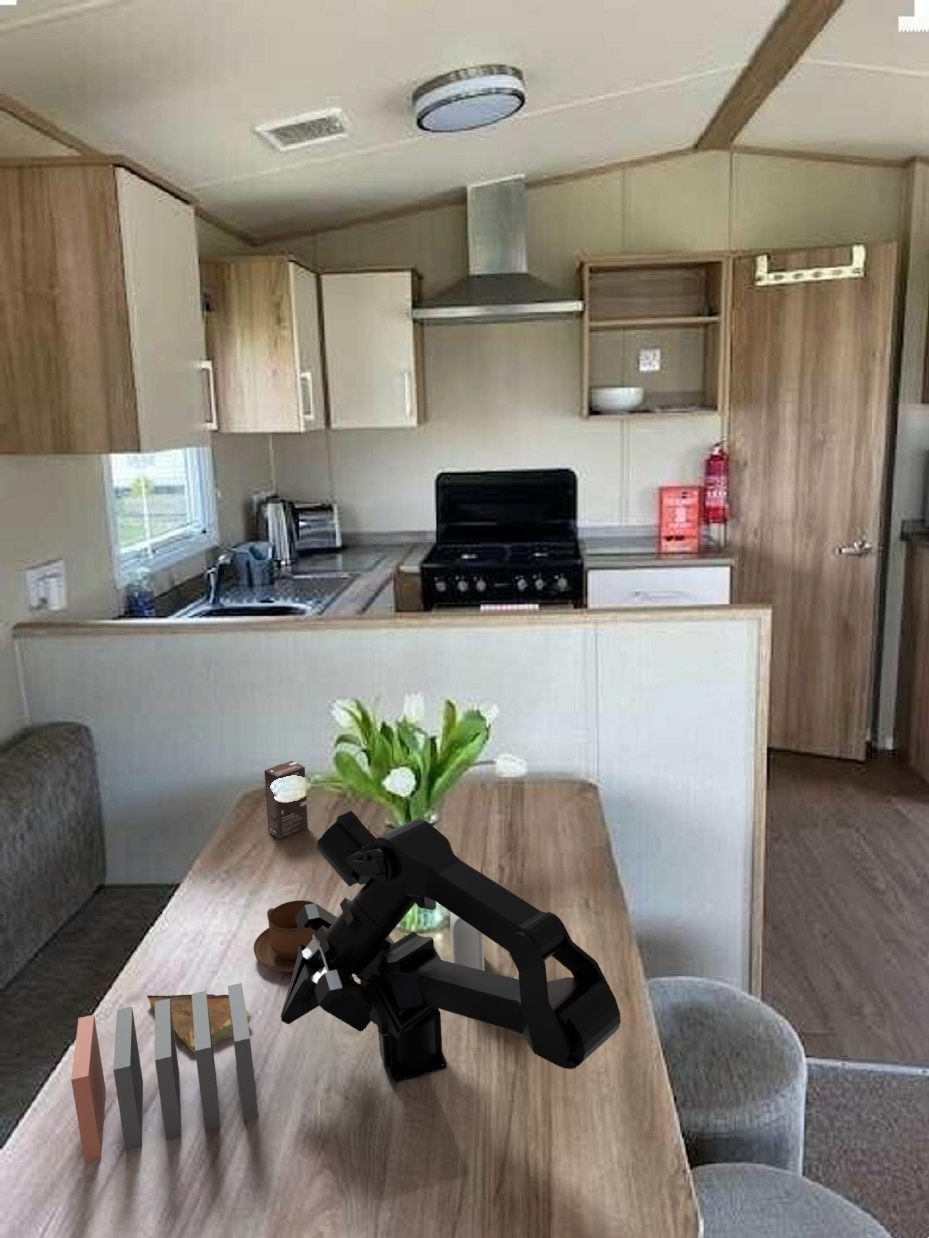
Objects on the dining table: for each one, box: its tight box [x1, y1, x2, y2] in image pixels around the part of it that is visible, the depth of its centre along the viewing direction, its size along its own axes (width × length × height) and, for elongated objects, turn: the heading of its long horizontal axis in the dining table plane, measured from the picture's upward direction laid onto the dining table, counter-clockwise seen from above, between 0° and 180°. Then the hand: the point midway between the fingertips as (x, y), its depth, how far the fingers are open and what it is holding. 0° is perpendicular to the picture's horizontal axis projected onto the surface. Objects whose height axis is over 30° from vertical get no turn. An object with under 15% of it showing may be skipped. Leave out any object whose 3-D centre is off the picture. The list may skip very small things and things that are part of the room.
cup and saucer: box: [253, 899, 317, 973], centre depth 130 cm, size 12×12×6 cm
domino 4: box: [191, 990, 221, 1132], centre depth 103 cm, size 2×10×10 cm, turn 18°
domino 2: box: [113, 1006, 144, 1152], centre depth 101 cm, size 2×10×10 cm, turn 18°
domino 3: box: [154, 999, 183, 1142], centre depth 102 cm, size 2×10×10 cm, turn 18°
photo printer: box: [449, 911, 486, 971], centre depth 123 cm, size 10×4×12 cm, turn 2°
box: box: [264, 760, 309, 839], centre depth 165 cm, size 6×4×12 cm
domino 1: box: [70, 1014, 107, 1163], centre depth 100 cm, size 2×10×10 cm, turn 18°
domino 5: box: [227, 982, 259, 1122], centre depth 104 cm, size 2×10×10 cm, turn 18°
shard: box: [146, 993, 252, 1056], centre depth 118 cm, size 13×9×2 cm
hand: (284, 1020), depth 105 cm, fingers closed
